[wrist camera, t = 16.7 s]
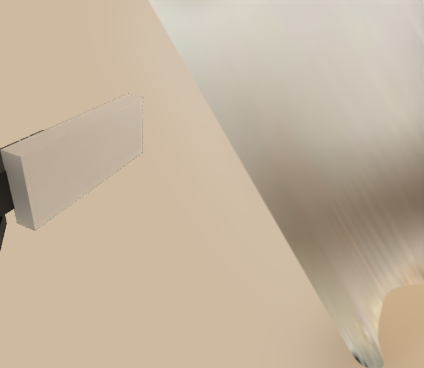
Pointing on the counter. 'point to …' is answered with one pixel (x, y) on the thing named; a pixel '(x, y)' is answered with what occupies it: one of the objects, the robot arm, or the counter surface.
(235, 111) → the counter surface
